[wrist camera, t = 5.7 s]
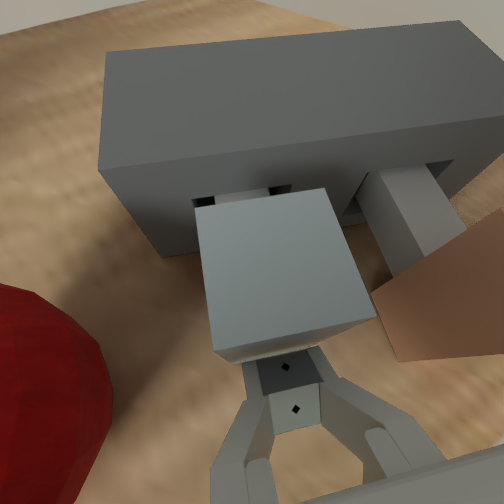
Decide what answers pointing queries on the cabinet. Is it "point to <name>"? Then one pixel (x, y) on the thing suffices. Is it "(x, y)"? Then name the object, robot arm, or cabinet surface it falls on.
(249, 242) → the slate plug
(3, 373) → the apple
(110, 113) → the socket block
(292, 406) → the robot arm
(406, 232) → the terracotta plug
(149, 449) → the cabinet surface
